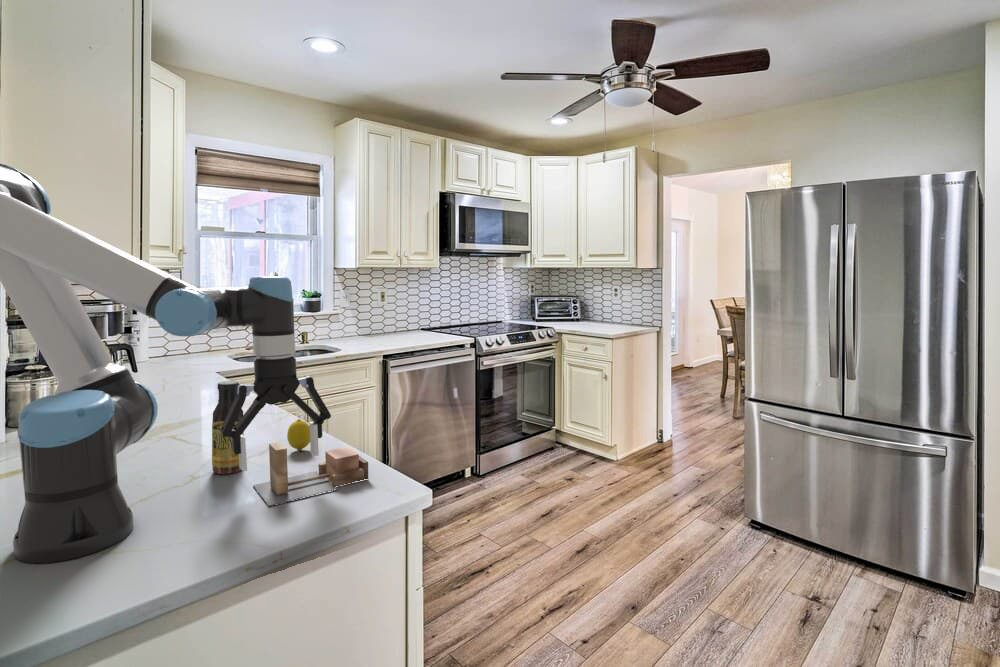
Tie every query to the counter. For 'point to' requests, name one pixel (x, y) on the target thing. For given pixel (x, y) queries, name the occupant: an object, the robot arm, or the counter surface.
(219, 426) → the sauce bottle
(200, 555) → the counter surface
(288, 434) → the lemon
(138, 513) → the counter surface
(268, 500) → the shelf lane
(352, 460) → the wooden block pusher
